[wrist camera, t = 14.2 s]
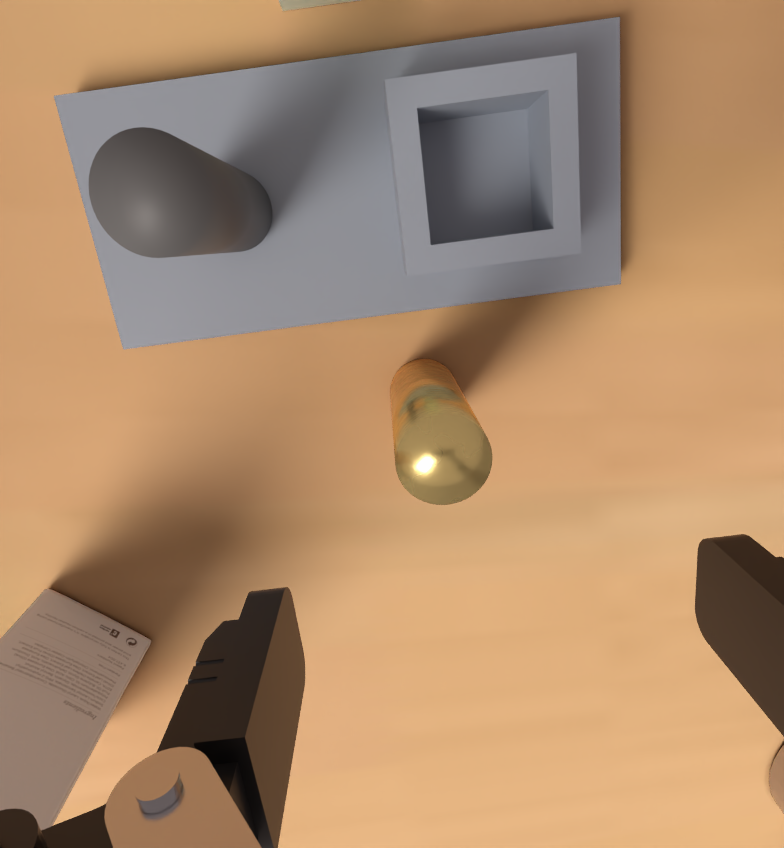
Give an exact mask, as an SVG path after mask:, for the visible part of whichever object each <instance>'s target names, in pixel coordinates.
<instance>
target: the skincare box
mask: <svg viewBox="0 0 784 848" xmlns="http://www.w3.org/2000/svg"><path fill="white" fill-rule="evenodd" d="M150 644H151V640H150V639H148V638H147V637H145V636H143V635H141V634H139V633H137V632H136V631H134V630H132V629H130V628H128V627H126V626H124V625H122V624H120V623H118V622H116V621H114V620H112V619H110V618H109V617H107V616H105V615H103V614H101V613H99V612H96V611H94V610H92V609H90V608H88V607H86V606H84V605H82V604H80V603H78V602H76V601H74V600H72V599H70V598H68V597H66V596H64V595H62V594H60V593H58V592H56V591H54V590H51V589H45V590H44V591H43V592H42V593H41V594H40V596H39V597H38V598H37V599H36V600H35V601H34V602H33V603H32V604H31V606H30V607H29V608H28V609H27V610H26V611H25V612H24V613H23V614H22V616H21V617H20V618H19V619H18V620H17V621H16V622H15V623H14V624H13V626H12V627H11V628H10V629H9V630H8V631H7V632H6V633H5V634H4V636H3V637H2V638H1V639H0V811H1V810H5V809H14V808H15V809H23V810H26V811H29V812H30V813H31V814H33V815H34V817H35V819H36V820H37V822H38V825H39V827H40V829H41V830H44V829H46V828H49V827H51V826H53V824H54V822H55V820H56V818H57V816H58V814H59V813H60V811H61V809H62V807H63V805H64V803H65V801H66V800H67V798H68V796H69V794H70V792H71V790H72V788H73V787H74V785H75V783H76V781H77V779H78V777H79V775H80V773H81V772H82V770H83V768H84V766H85V764H86V762H87V760H88V759H89V757H90V755H91V753H92V751H93V749H94V747H95V746H96V744H97V742H98V740H99V738H100V736H101V734H102V733H103V731H104V729H105V727H106V725H107V723H108V721H109V720H110V718H111V716H112V714H113V712H114V710H115V708H116V706H117V704H118V702H119V700H120V699H121V697H122V695H123V693H124V691H125V689H126V687H127V685H128V684H129V682H130V680H131V678H132V676H133V675H134V673H135V671H136V669H137V667H138V666H139V664H140V662H141V660H142V659H143V657H144V655H145V653H146V651H147V649H148V648H149V646H150Z"/></svg>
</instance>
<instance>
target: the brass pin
mask: <svg viewBox="0 0 784 848" xmlns="http://www.w3.org/2000/svg"><path fill="white" fill-rule="evenodd" d="M390 399H391V412H392V425H393V438H394V451H395V465H396V471H397V474H398V477H399V479H400V481H401V483H402V485H403V486H404V487H405V489H406V490H407V491H408V492H409V493H411V494H412V495H413V496H414V497H416V498H418V499H420V500H422V501H424V502H427V503H431V504H436V505H447V504H453V503H457V502H460V501H463V500H465V499H467V498H469V497H470V496H472V495H473V494H474V493H476V492H477V491H478V490H479V489H480V488H481V487H482V485H483V484H484V483H485V481H486V479H487V478H488V475H489V473H490V470H491V466H492V450H491V446H490V443H489V441H488V438H487V437H486V435H485V433H484V431H483V429H482V427H481V426H480V424H479V422H478V420H477V418H476V417H475V415H474V413H473V411H472V409H471V407H470V406H469V404H468V402H467V400H466V398H465V397H464V395H463V393H462V391H461V389H460V388H459V386H458V384H457V382H456V380H455V378H454V377H453V375H452V373H451V372H450V371H449V369H448V368H447V367H445V366H444V365H443V364H441V363H439V362H437V361H434V360H430V359H418V360H414V361H411V362H409V363H407V364H405V365H404V366H403V367H401V368H400V369H399V370H398V371H397V373H396V374H395V376H394V378H393V380H392V383H391V387H390Z"/></svg>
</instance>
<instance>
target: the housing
mask: <svg viewBox="0 0 784 848" xmlns="http://www.w3.org/2000/svg"><path fill="white" fill-rule="evenodd" d="M352 1H359V0H279V3H280V5H281V7H282V10H283V11H288V10H295V9H302V8H309V7H316V6H323V5H331V4H338V3H345V2H352Z"/></svg>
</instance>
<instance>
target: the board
mask: <svg viewBox="0 0 784 848" xmlns="http://www.w3.org/2000/svg"><path fill="white" fill-rule="evenodd" d="M54 99H55V102H56V106H57V109H58V113H59V117H60V120H61V124H62V128H63V131H64V135H65V139H66V142H67V146H68V150H69V153H70V157H71V161H72V164H73V168H74V171H75V175H76V179H77V182H78V186H79V190H80V193H81V197H82V201H83V204H84V208H85V212H86V215H87V219H88V222H89V226H90V230H91V233H92V237H93V241H94V244H95V248H96V252H97V255H98V259H99V263H100V266H101V270H102V273H103V277H104V281H105V284H106V288H107V292H108V295H109V299H110V303H111V306H112V310H113V314H114V317H115V321H116V324H117V328H118V332H119V335H120V339H121V343H122V346H123V349H130V348H138V347H145V346H153V345H160V344H168V343H176V342H183V341H191V340H198V339H206V338H214V337H221V336H229V335H237V334H244V333H252V332H259V331H267V330H275V329H282V328H290V327H297V326H305V325H313V324H320V323H328V322H335V321H343V320H351V319H358V318H366V317H373V316H381V315H389V314H396V313H404V312H411V311H419V310H427V309H434V308H442V307H449V306H457V305H465V304H472V303H480V302H488V301H495V300H503V299H510V298H518V297H526V296H533V295H541V294H548V293H556V292H564V291H571V290H579V289H586V288H594V287H602V286H609V285H617V284H621V181H620V17H615V18H608V19H601V20H594V21H587V22H579V23H572V24H565V25H558V26H551V27H544V28H536V29H529V30H522V31H515V32H508V33H501V34H494V35H486V36H479V37H472V38H465V39H458V40H451V41H443V42H436V43H429V44H422V45H415V46H408V47H401V48H393V49H386V50H379V51H372V52H365V53H358V54H350V55H343V56H336V57H329V58H322V59H315V60H307V61H300V62H293V63H286V64H279V65H272V66H265V67H257V68H250V69H243V70H236V71H229V72H222V73H214V74H207V75H200V76H193V77H186V78H179V79H171V80H164V81H157V82H150V83H143V84H136V85H129V86H121V87H114V88H107V89H100V90H93V91H86V92H78V93H71V94H64V95H57V96H54Z"/></svg>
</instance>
